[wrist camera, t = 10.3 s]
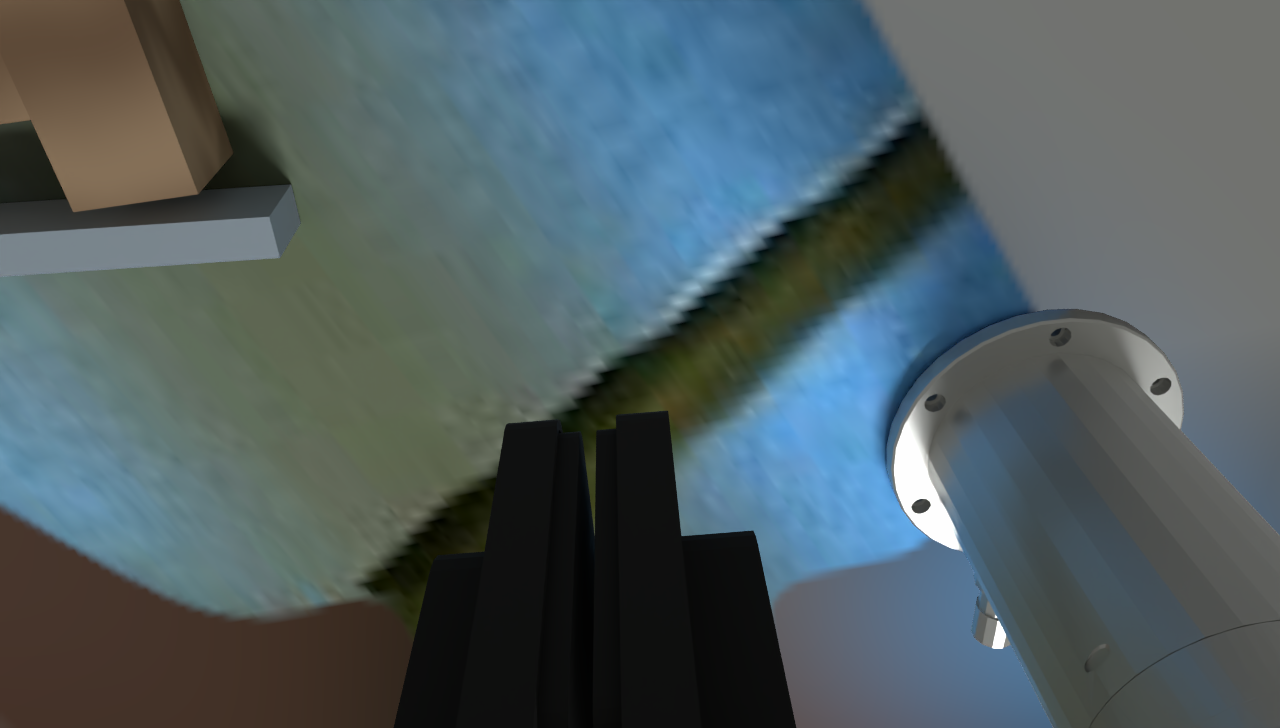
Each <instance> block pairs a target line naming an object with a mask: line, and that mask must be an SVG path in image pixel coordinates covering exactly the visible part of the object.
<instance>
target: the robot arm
mask: <svg viewBox="0 0 1280 728" xmlns="http://www.w3.org/2000/svg"><path fill="white" fill-rule="evenodd" d="M1183 415H1184V407H1183V391H1182V388H1181V385H1180V382H1179V378H1178V376H1177V372H1176V370H1175V369H1174V367H1173V366H1172V364H1171V363H1170V361H1169V360H1168V358H1167V357H1166V355H1165V354H1164V352H1163V351H1162V350H1161V349H1160V348H1159V347H1158V346H1157V345H1155V343H1154V342H1152V341H1151V340H1150V339H1149V338H1148V337H1147V336H1146V335H1145V334H1144V333H1142V332H1141V331H1139V330H1138V329H1136V328H1135V327H1133V326H1132V325H1130V324H1129V323H1127V322H1125V321H1122V320H1120V319H1117V318H1114V317H1112V316H1109V315H1106V314H1104V313H1099V312H1092V311H1086V310H1079V309H1058V310H1043V311H1038V312H1033V313H1028V314H1023V315H1018V316H1015V317H1012V318H1009V319H1007V320H1004V321H1001V322H998V323H995V324H993V325H990V326H988V327H986V328H984V329H982V330H980V331H978V332H976V333H975V334H973V335H971V336H969V337H967V338H965V339H963V340H961V341H960V342H959V343H957V344H956V345H955V346H953V347H952V348H951V349H949V350H948V351H947V352H945V353H944V354H943V355H941V356H940V357H939V358H937V359H936V360H935V361H934V362H933V363H932V365H931V366H930V367H929V368H928V369H927V370H926V371H925V372H924V373H923V374H922V375H921V376H920V377H919V378H918V379H917V380H916V382H915V383H914V385H913V386H912V387H911V389H910V390H909V392H908V393H907V395H906V396H905V397H904V399H903V400H902V402H901V404H900V406H899V409H898V411H897V413H896V415H895V418H894V420H893V422H892V424H891V429H890V433H889V438H888V442H887V447H886V449H887V472H888V475H889V479H890V483H891V487H892V489H893V492H894V494H895V496H896V498H897V500H898V502H899V504H900V507H901V509H902V510H903V511H904V513H905V514H906V515H907V517H908V518H909V520H910V521H911V522H912V524H913V525H914V526H915V527H917V528H918V529H919V530H920V531H921V532H923V533H924V534H925V535H926V536H928V537H929V538H930V539H932V540H934V541H936V542H938V543H940V544H942V545H944V546H946V547H948V548H951V549H955V550H958V551H961V552H964V554H965V555H966V558H967V560H968V562H969V564H970V566H971V567H972V569H973V571H974V581H975V585H976V586H977V587H978V588H979V590H980V593H979V596H978V597H977V601H976V606H975V612H974V617H973V622H972V628H971V632H972V634H973V636H974V638H975V639H976V640H977V641H979V642H980V643H981V644H983V645H985V646H988V647H991V648H1004V647H1007V646H1009V645H1011V646H1012V648H1013V650H1014V652H1015V654H1016V656H1017V658H1018V660H1019V662H1020V664H1021V665H1022V667H1023V669H1024V671H1025V673H1026V675H1027V677H1028V679H1029V681H1030V683H1031V685H1032V687H1033V689H1034V691H1035V693H1036V695H1037V697H1038V699H1039V701H1040V703H1041V705H1042V707H1043V709H1044V710H1045V712H1046V714H1047V716H1048V718H1049V720H1050V722H1051V724H1052V726H1053V728H1280V535H1279V534H1278V533H1276V531H1275V530H1274V529H1273V528H1272V527H1271V526H1270V525H1269V524H1268V523H1267V522H1266V521H1265V519H1264V518H1263V517H1262V516H1261V515H1260V514H1259V513H1258V512H1257V511H1256V510H1255V509H1254V508H1253V507H1252V506H1251V505H1250V504H1249V502H1248V501H1247V500H1246V499H1245V498H1244V497H1243V496H1242V495H1241V494H1240V493H1239V492H1238V491H1237V490H1236V489H1235V487H1234V486H1233V485H1232V484H1231V483H1230V482H1229V481H1228V480H1227V479H1226V478H1225V477H1224V476H1223V475H1222V474H1221V473H1220V472H1219V470H1218V469H1217V468H1216V467H1215V466H1214V465H1213V464H1212V463H1211V462H1210V461H1209V460H1208V459H1207V458H1206V457H1205V456H1204V455H1203V454H1202V452H1201V451H1200V450H1199V449H1198V448H1197V447H1196V446H1195V445H1194V444H1193V443H1192V442H1191V441H1190V440H1189V439H1188V438H1187V436H1186V435H1184V433H1183V432H1182V431H1181V426H1182V421H1183ZM394 728H796V724H795V720H794V715H793V710H792V706H791V701H790V696H789V691H788V686H787V681H786V677H785V672H784V667H783V662H782V658H781V653H780V648H779V643H778V639H777V634H776V629H775V624H774V619H773V615H772V610H771V605H770V600H769V596H768V591H767V586H766V581H765V576H764V572H763V567H762V562H761V557H760V553H759V548H758V543H757V540H756V536H755V533H754V531H743V532H730V533H717V534H705V535H692V536H681V529H680V519H679V510H678V500H677V491H676V481H675V472H674V462H673V453H672V443H671V434H670V424H669V415H668V411H659V412H646V413H634V414H621V415H616V429H607V430H597V435H596V502H595V535H594V527H593V519H592V511H591V503H590V495H589V487H588V479H587V471H586V463H585V455H584V447H583V440H582V435H581V432H570V433H563V432H562V427H561V423H560V420H546V421H534V422H521V423H509V424H507V425H506V427H505V431H504V437H503V443H502V449H501V455H500V461H499V467H498V473H497V479H496V486H495V492H494V498H493V504H492V510H491V516H490V522H489V528H488V534H487V540H486V546H485V552H476V553H463V554H450V555H438V556H437V557H436V558H435V559H434V561H433V564H432V567H431V570H430V574H429V578H428V582H427V586H426V591H425V595H424V599H423V604H422V608H421V612H420V617H419V621H418V625H417V629H416V634H415V638H414V642H413V647H412V651H411V656H410V660H409V664H408V668H407V673H406V677H405V681H404V685H403V690H402V694H401V698H400V703H399V707H398V711H397V715H396V720H395V724H394Z"/></svg>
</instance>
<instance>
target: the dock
mask: <svg viewBox="0 0 1280 728" xmlns="http://www.w3.org/2000/svg"><path fill="white" fill-rule="evenodd" d="M300 224H301V222H300V218H299V214H298V210H297V206H296V202H295V198H294V194H293V190H292V186H291V184H289V185H274V186H259V187H243V188H228V189H213V190H202V191H201V192H200V193H199V194H197V195H190V196H183V197H176V198H169V199H162V200H155V201H148V202H141V203H134V204H127V205H120V206H113V207H107V208H100V209H93V210H86V211H79V212H73V210H72V208H71V206H70V204H69V202H68V200H67V199H59V200H44V201H28V202H13V203H0V277H3V276H18V275H33V274H48V273H62V272H77V271H92V270H107V269H122V268H137V267H151V266H166V265H181V264H196V263H211V262H226V261H240V260H255V259H270V258H280V257H281V255H282V254H283V252H284V250H285V249H286V247H287V245H288V244H289V242H290V240H291V239H292V237H293V235H294V234H295V232H296V230H297V229H298V227H299V225H300Z"/></svg>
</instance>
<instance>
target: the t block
mask: <svg viewBox="0 0 1280 728" xmlns="http://www.w3.org/2000/svg"><path fill="white" fill-rule="evenodd" d="M27 120H31V121H32V124H33V126H34V128H35V130H36V132H37V134H38V137H39V139H40V141H41V143H42V145H43V147H44V150H45V152H46V154H47V156H48V158H49V160H50V163H51V165H52V167H53V169H54V171H55V173H56V176H57V178H58V180H59V182H60V184H61V187H62V189H63V191H64V193H65V195H66V197H67V200H68V202H69V204H70V206H71V208H72V210H73V212H79V211H86V210H93V209H100V208H107V207H113V206H120V205H127V204H134V203H141V202H148V201H155V200H162V199H169V198H176V197H183V196H190V195H197V194H199V193H200V192H201V191H202V189H203V188H204V187H205V186H206V185H207V184H208V182H209V181H210V180H211V179H212V178H213V177H214V175H215V174H216V173H217V172H218V171H219V170H220V168H221V167H222V166H223V165H224V164H225V163H226V161H227V160H228V159H229V158H230V157H231V156H232V154H233V150H232V147H231V145H230V142H229V139H228V136H227V133H226V130H225V128H224V125H223V122H222V119H221V116H220V114H219V111H218V108H217V105H216V102H215V99H214V97H213V94H212V91H211V88H210V85H209V83H208V80H207V77H206V74H205V71H204V68H203V66H202V63H201V60H200V57H199V54H198V52H197V49H196V46H195V43H194V40H193V37H192V35H191V32H190V29H189V26H188V23H187V21H186V18H185V15H184V12H183V9H182V6H181V4H180V1H179V0H0V124H6V123H13V122H20V121H27Z"/></svg>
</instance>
